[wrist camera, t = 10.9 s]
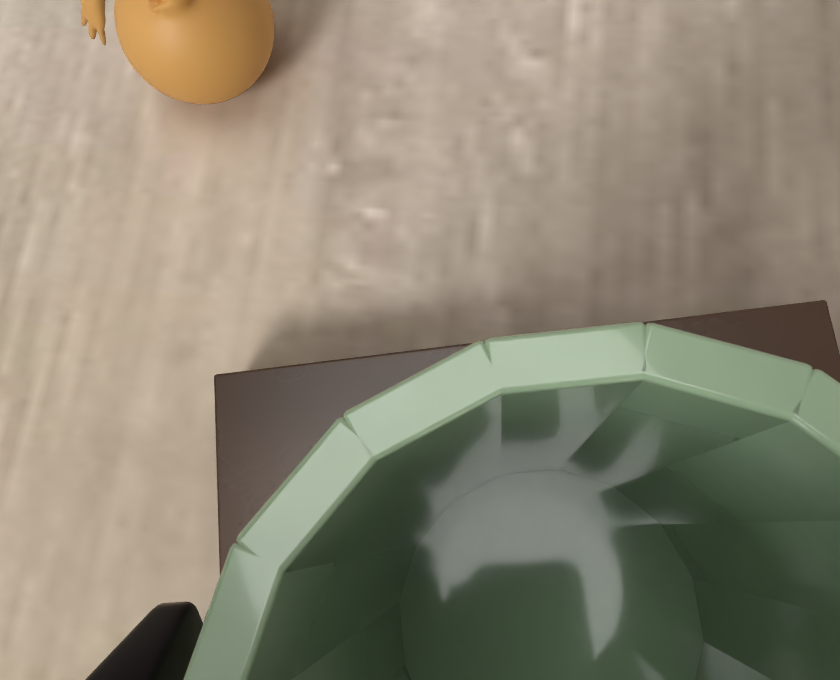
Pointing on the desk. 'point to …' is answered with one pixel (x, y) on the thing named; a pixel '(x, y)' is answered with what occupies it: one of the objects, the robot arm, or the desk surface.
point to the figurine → (191, 43)
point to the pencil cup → (552, 523)
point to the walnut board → (370, 375)
